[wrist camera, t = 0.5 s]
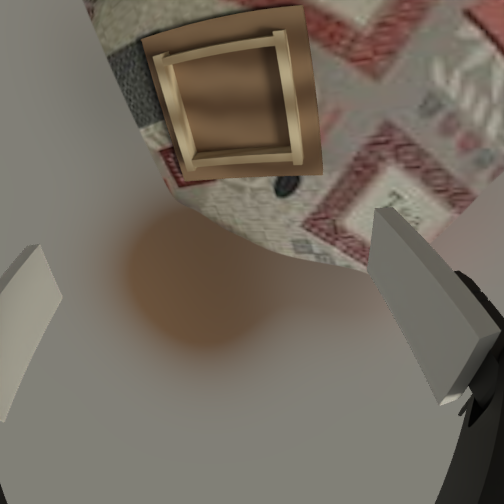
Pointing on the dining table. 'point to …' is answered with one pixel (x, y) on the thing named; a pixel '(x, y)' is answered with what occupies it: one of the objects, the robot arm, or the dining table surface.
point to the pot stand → (239, 95)
